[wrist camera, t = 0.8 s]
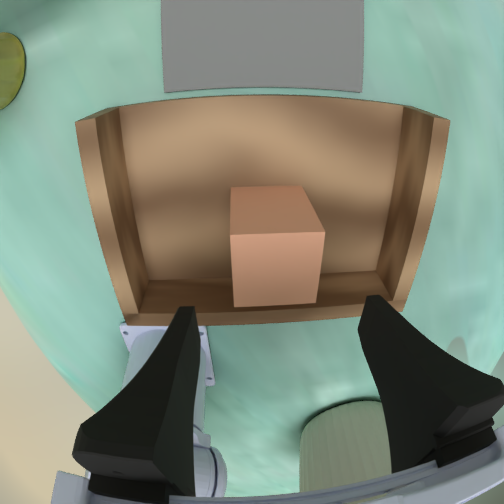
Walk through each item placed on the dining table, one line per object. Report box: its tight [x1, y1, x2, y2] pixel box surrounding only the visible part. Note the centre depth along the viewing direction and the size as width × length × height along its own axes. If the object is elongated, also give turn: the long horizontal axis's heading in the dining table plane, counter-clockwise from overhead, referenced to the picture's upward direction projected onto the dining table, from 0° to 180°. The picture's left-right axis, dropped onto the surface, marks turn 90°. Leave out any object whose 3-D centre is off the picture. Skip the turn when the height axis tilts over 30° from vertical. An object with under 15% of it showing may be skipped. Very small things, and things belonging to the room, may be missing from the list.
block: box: [230, 186, 325, 307], centre depth 19 cm, size 4×4×6 cm
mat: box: [161, 0, 364, 93], centre depth 14 cm, size 10×12×1 cm
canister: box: [299, 401, 392, 504], centre depth 31 cm, size 18×18×21 cm
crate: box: [75, 95, 450, 326], centre depth 19 cm, size 14×20×4 cm
